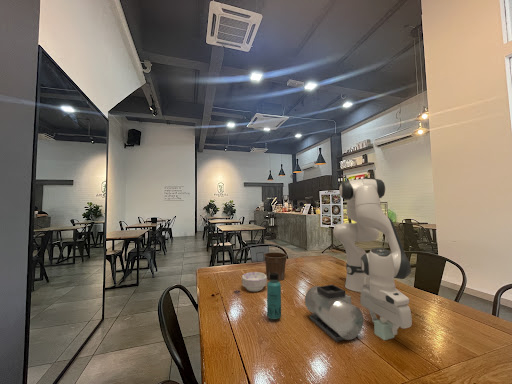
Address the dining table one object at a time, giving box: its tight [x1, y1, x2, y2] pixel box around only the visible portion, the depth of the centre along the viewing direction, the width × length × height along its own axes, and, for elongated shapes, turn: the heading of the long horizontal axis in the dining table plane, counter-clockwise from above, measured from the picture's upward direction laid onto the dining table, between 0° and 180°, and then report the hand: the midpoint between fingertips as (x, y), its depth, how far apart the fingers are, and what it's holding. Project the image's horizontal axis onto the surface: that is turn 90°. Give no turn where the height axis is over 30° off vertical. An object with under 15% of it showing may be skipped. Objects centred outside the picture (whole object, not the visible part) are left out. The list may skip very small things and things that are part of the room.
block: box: [373, 316, 395, 341], centre depth 86 cm, size 5×4×8 cm
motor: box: [304, 284, 364, 343], centre depth 94 cm, size 12×26×16 cm, turn 19°
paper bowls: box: [241, 271, 268, 292], centre depth 135 cm, size 15×15×8 cm
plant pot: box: [263, 251, 288, 282], centre depth 154 cm, size 16×16×16 cm
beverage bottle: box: [266, 273, 282, 320], centre depth 99 cm, size 6×7×20 cm
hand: (384, 327), depth 86 cm, fingers open, 7 cm apart
